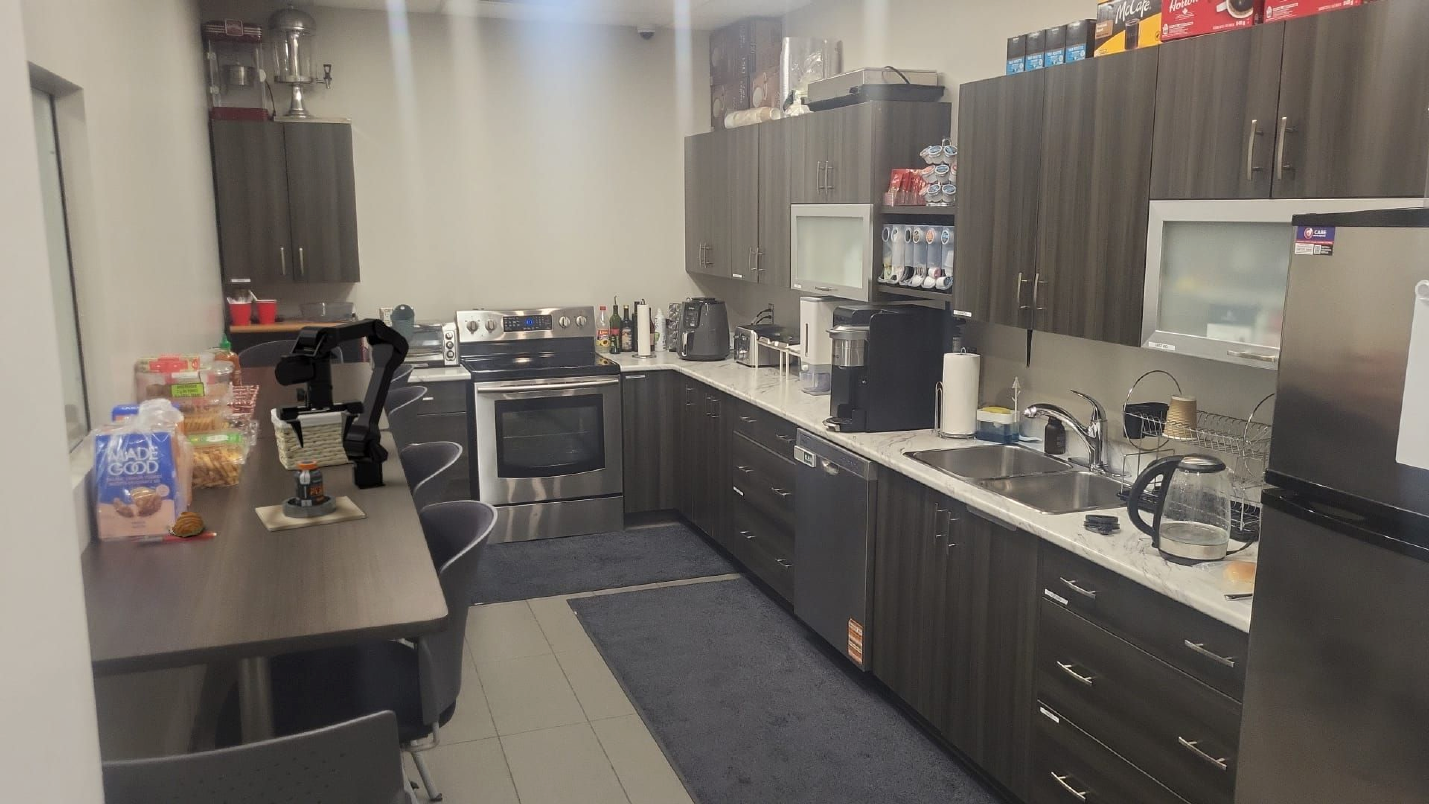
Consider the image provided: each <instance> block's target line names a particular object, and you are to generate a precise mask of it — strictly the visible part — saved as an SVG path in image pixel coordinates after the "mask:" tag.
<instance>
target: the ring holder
mask: <svg viewBox="0 0 1429 804" xmlns="http://www.w3.org/2000/svg"><path fill="white" fill-rule="evenodd" d="M255 513H256V514H257V516H258V517H259V518H260V520H261V521H262V523H263V525H264V526H265V527H266V529H267V531H268V532H269V533H270V532H276V531H283V530H290V529H298V528H304V527H312V526H318V525H320V526H321V525H324V524H327V525H328V524H332V523H339V522H346V521H348V522H349V521H353V520H354V521H355V520H361V519H366V514H365V512H363V511H362V509H360V508H359V507H358V506H357V505H356V504H355V503H354V502H353V501H352V500H351V499H350V498H349V497H348V496H347V495H345V496H337V497H335V496H334V495H330V494H326V493H324V503H322V504H319V505H311V506H296V499H295V496H293V497H288V498H286V499H285V500H283V501H282V502H281V504H277V505H276V504H275V505H269V506H260V507H255Z"/></svg>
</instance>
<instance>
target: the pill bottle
mask: <svg viewBox="0 0 1429 804" xmlns="http://www.w3.org/2000/svg"><path fill="white" fill-rule="evenodd" d="M298 469H299V470H297V471H296V472H295V473H294V476H293V479H294V497H295V499H296V506H311V505H319V504H322V503H324V494H325V493H324V479H323V477H324V476H323V473H322V471H321V470H319V467H318V466H317V462H316V461H303V462H299V463H298Z"/></svg>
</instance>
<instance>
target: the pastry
mask: <svg viewBox="0 0 1429 804" xmlns="http://www.w3.org/2000/svg"><path fill="white" fill-rule="evenodd" d="M181 512H182V513H181V516H179V517H178V518H177V522H176V524H175V525H174V527H172V530H173V532H174V533H175V534H176V535H177V536H176V537H178V536H182V537H181V538H185V537H188V536H196V535H199V534H200V533H201V532H202V531H203V528H204V525H205V522H204V521H203V519H202V516H200V515H199V514H198V513H194V512H192V511H186V510H185V511H184V510H183V511H181ZM198 533H199V534H198Z"/></svg>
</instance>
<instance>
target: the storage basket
mask: <svg viewBox="0 0 1429 804" xmlns="http://www.w3.org/2000/svg"><path fill="white" fill-rule="evenodd" d="M336 404H342V402H341V403H340V402H339V403H336ZM303 407H305V406H304V405H303ZM276 408H277V407H276ZM276 408H273V409H271V410H270V413H271V423H273V426H274V431H275V432H274V433H275V434H274V435H275V438H276V444H277V450H278V454H279V455H278V458H279V461H280V462H279V463H281V464H282V466H283V467H284V468H285V469H286V470H288V471H292V470H294V471H299V469H298V463H299V462H303V461H316V462H317V466H318V467H317V468H322V467H325V466H328V467H329V466H337V465H338V466H339V465H344V464H352V463H354V461H348V459H347V456H346V453H345V451H344V448H343V444H342V441H341V426H342V418H341V412H331V413H319V414H308V415H299V416H298V419H299V420H300V422H301V428H302V435H303V442H304V447H303V448H301V446H300V444H299V441H298V439H297V437H296V434H295V432H294V430H293V428H292V427H291V425H290V424H287V423H286V422H284V421H281V420H279V419H278V418H277V416H276ZM312 410H315V409H312ZM342 412H343V411H342ZM358 415H360V414H358ZM358 418H359V417H358ZM358 418H355V419H354V421H353V423H352V424H354V423H355V422H356V421H357V420H358Z"/></svg>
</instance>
